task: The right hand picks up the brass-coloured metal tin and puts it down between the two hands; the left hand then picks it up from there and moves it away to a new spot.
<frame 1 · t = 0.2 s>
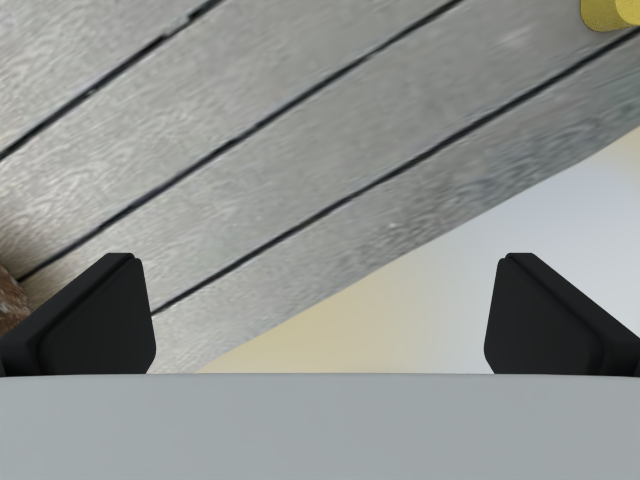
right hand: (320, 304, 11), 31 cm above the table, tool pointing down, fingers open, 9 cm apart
tin: (608, 0, 35), on the table
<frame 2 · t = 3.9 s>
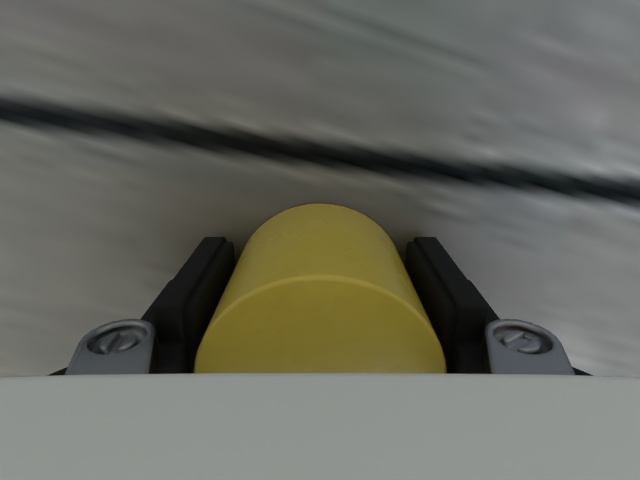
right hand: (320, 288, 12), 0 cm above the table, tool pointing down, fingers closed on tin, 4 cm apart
tin: (320, 281, 12), on the table, touching right hand
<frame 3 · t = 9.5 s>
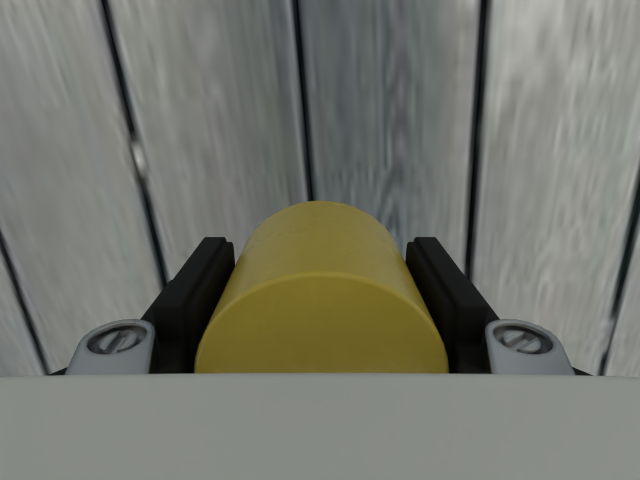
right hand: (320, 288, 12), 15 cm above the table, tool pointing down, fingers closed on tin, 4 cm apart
tin: (320, 279, 12), point 14 cm above the table, touching right hand
when the right hand's fingers open (1 cm above the table, at t = 15.2 s): tin stays where it is, on the table.
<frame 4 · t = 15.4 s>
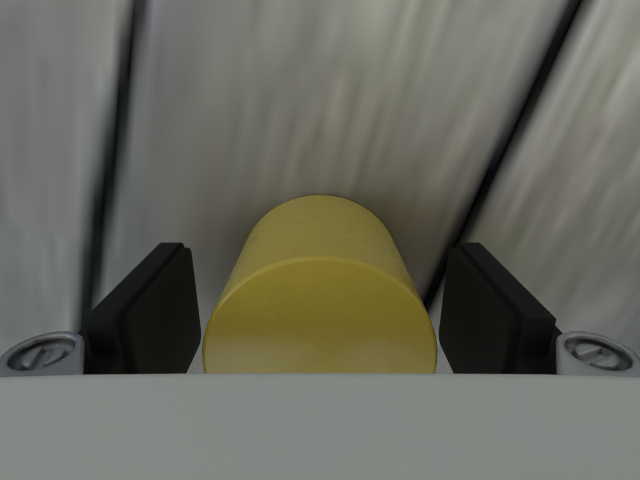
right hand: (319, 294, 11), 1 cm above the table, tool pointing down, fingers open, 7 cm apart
tin: (319, 270, 13), on the table
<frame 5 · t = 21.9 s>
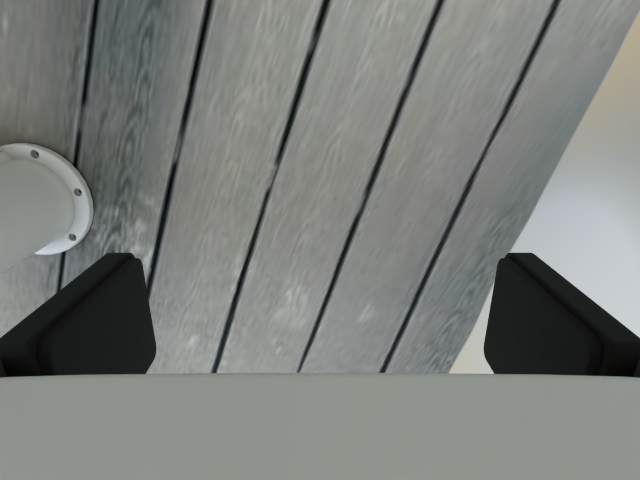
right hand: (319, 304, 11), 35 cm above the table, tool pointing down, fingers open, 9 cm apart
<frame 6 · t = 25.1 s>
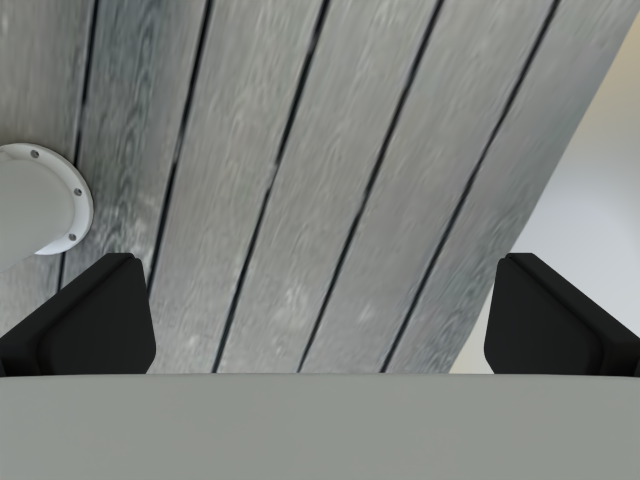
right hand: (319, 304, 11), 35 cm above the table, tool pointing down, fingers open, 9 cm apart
when the left hand's fingers open (2 cm above the table, at t = 28.6 s): tin stays where it is, on the table.
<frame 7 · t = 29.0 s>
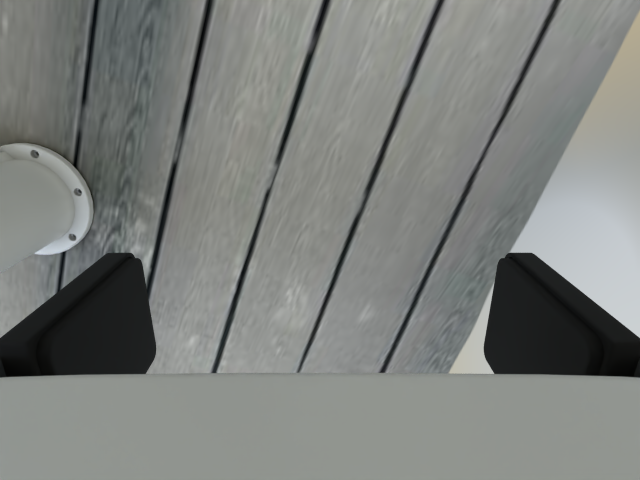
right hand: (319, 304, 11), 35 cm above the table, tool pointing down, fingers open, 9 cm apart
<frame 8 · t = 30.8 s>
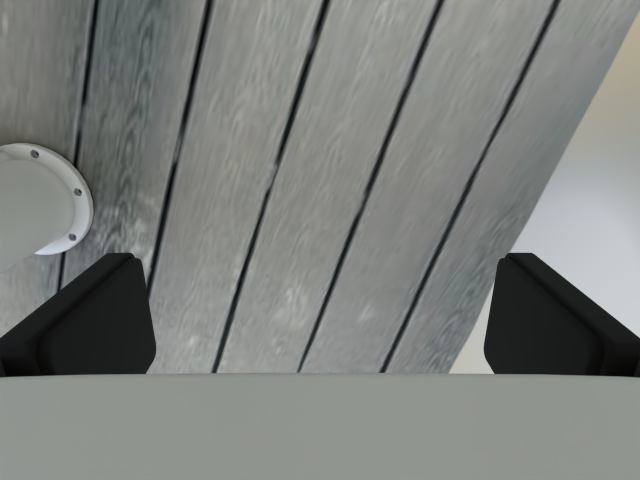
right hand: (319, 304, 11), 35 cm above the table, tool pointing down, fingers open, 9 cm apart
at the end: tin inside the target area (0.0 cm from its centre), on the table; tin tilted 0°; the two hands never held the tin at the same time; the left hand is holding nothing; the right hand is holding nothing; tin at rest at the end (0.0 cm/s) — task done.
